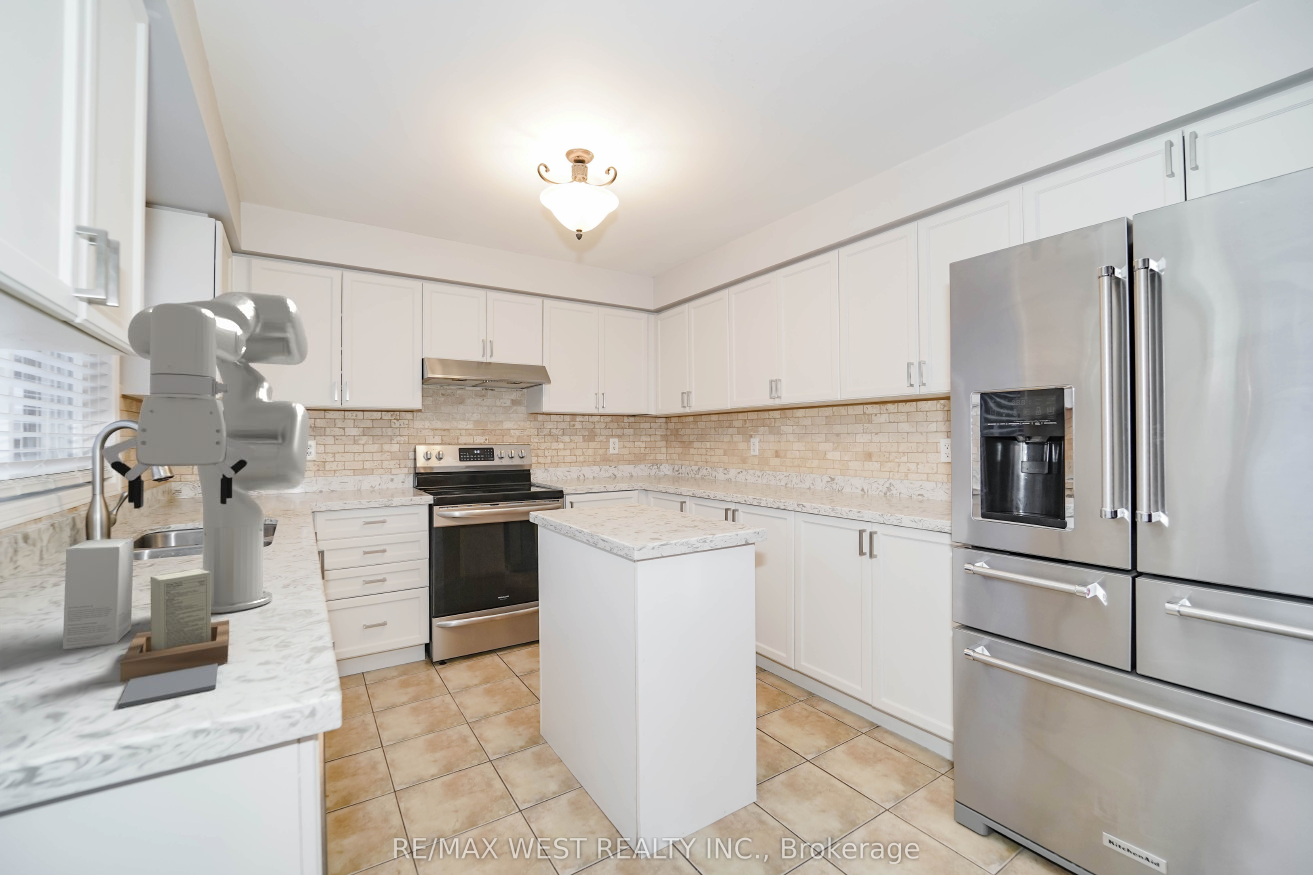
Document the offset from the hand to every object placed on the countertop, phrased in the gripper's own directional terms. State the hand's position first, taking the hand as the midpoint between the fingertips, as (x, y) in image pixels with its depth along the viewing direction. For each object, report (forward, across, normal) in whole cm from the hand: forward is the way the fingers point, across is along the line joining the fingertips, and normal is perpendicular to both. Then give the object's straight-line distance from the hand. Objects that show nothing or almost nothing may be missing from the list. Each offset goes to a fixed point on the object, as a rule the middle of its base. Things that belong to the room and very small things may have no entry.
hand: (182, 505), depth 84 cm
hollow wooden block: (+22, 0, 0) cm, 22 cm away
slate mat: (+22, 0, +13) cm, 26 cm away
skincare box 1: (+22, +11, -18) cm, 30 cm away
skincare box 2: (+22, 0, 0) cm, 22 cm away
